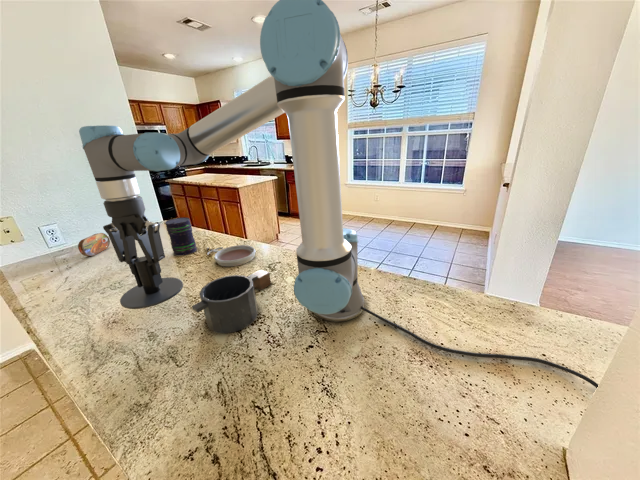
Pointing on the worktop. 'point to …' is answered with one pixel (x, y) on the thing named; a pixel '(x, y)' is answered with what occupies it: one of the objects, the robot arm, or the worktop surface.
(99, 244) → the tin
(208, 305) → the pot
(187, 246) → the storage jar
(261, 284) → the block
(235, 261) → the frying pan
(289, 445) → the worktop surface
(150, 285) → the lid
